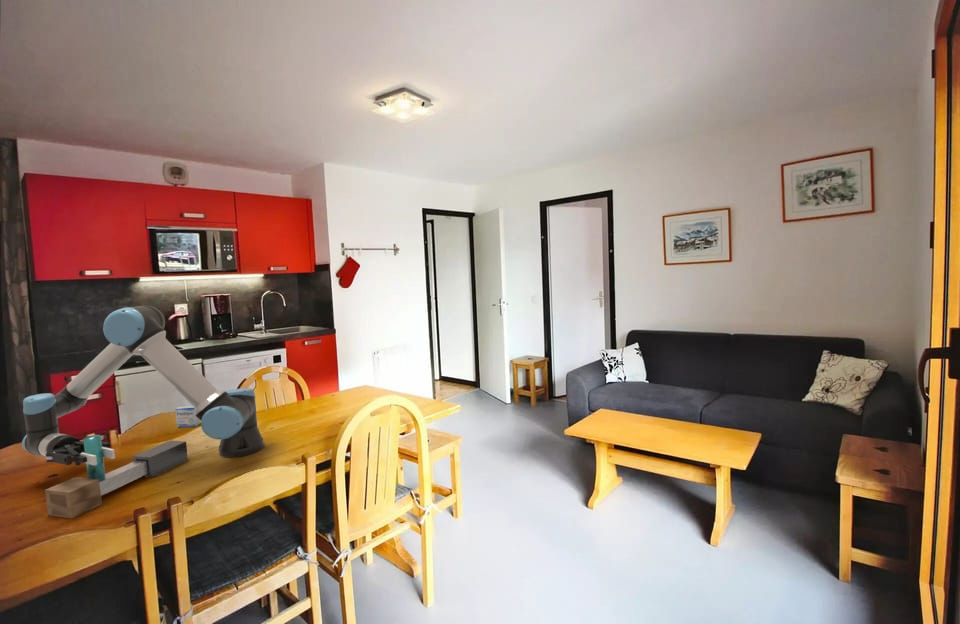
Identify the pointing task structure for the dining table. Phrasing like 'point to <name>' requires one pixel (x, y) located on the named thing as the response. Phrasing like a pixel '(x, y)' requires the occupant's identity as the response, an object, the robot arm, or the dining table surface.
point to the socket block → (73, 497)
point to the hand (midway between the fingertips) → (104, 457)
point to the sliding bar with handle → (114, 477)
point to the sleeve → (163, 456)
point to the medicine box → (186, 417)
